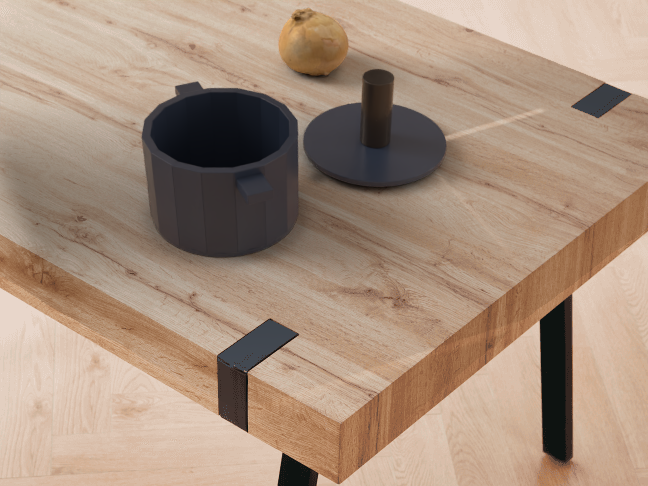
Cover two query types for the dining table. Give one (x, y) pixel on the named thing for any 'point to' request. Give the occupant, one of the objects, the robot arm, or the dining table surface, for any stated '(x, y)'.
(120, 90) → the dining table surface
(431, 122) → the lid
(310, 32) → the onion
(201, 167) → the pot
